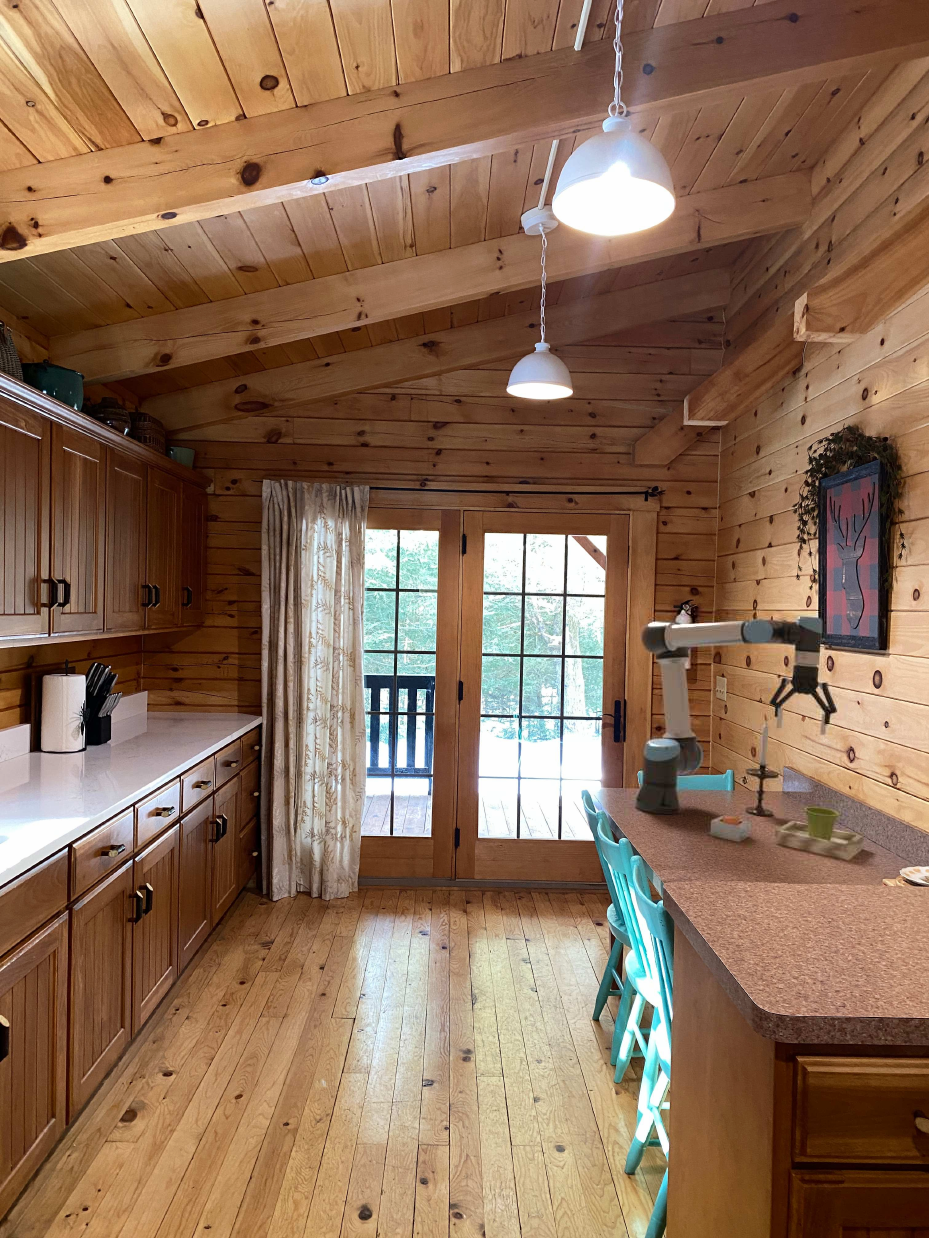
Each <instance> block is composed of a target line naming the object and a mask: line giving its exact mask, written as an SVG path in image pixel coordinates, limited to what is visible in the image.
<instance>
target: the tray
mask: <svg viewBox="0 0 929 1238" xmlns="http://www.w3.org/2000/svg"><path fill="white" fill-rule="evenodd" d="M774 844H777V845H782V846H786V847H790V848H793V849H794V848H795V849H799V850H803V851H807V852H811V853H815V854H819V855H824V856H828V857H834V858H838V859H843V860H845V861H849V860H852V858H854V856H856V855H857V854H858V853H859V852H861V851H863V849H864V835H863V834H862V835H861V834H858V833H857V834H856V833H852V832H848V831H842V830H838V829H834V828H833V831H832V835H831V839H830V841H829V840H824V839H820V838H815V837H810V836H808V823H805V822H800V821H797V820H796V821H795V820H791V821H790V822H788V823H786V824H783V825H782V826H781V827H778V828H777V829H775V834H774Z"/></svg>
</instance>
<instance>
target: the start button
mask: <svg viewBox="0 0 929 1238" xmlns="http://www.w3.org/2000/svg"><path fill="white" fill-rule="evenodd" d="M722 816H723V820H722V822H725V823H730V824H734V825H739V822H740V820H741V819H740V817H737V816H734V815H722Z"/></svg>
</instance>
